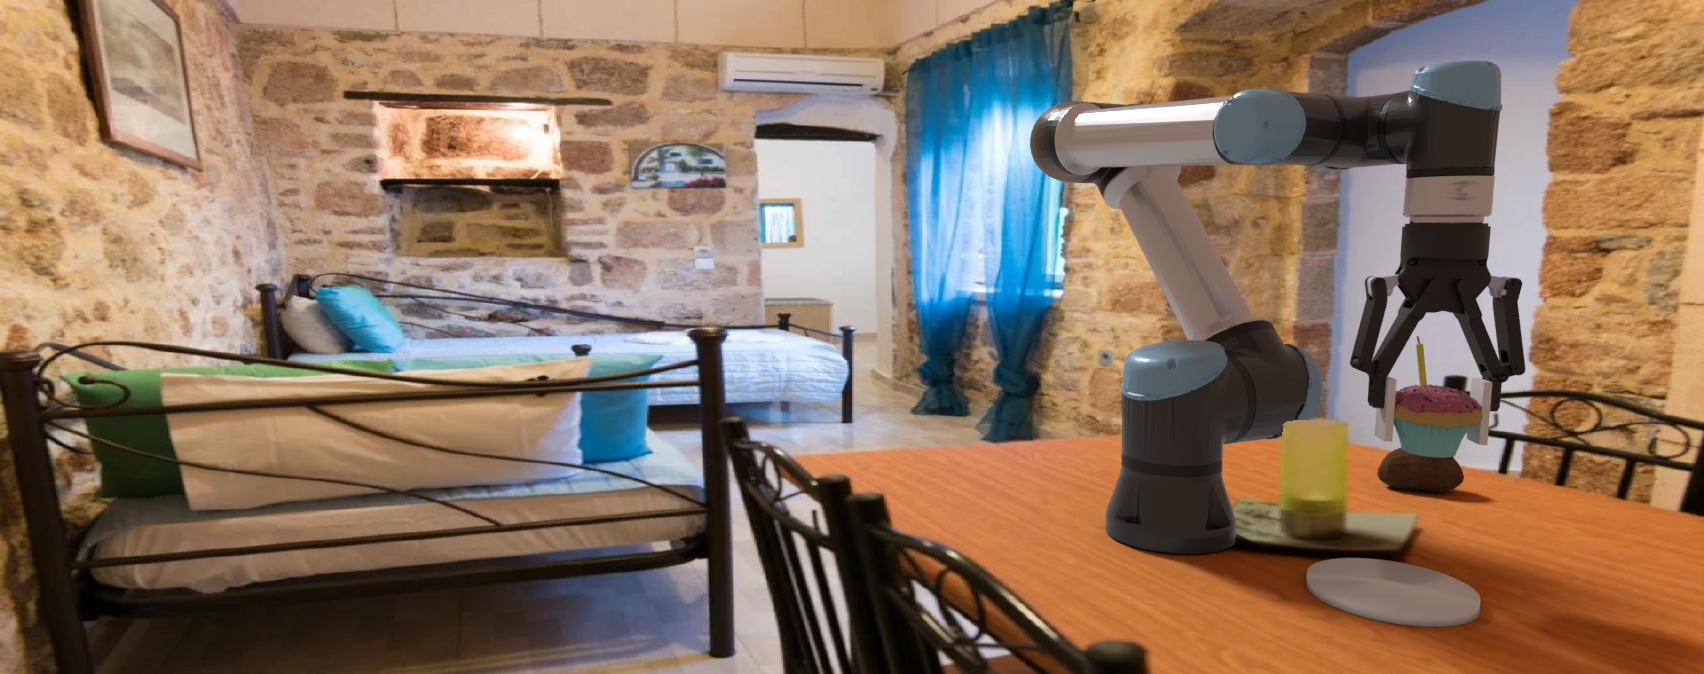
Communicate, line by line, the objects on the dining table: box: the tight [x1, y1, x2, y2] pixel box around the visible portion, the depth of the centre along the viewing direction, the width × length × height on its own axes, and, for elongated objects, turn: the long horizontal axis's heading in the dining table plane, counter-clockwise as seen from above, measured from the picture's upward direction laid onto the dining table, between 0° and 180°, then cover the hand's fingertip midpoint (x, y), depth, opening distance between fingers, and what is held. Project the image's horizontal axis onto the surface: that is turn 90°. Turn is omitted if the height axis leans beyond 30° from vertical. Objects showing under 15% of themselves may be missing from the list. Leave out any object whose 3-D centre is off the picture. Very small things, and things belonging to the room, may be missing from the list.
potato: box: [1376, 447, 1465, 493], centre depth 128 cm, size 7×10×7 cm
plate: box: [1305, 557, 1481, 628], centre depth 91 cm, size 15×15×1 cm
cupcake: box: [1393, 335, 1482, 457], centre depth 93 cm, size 9×8×12 cm
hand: (1429, 439), depth 94 cm, fingers closed on cupcake, 8 cm apart
